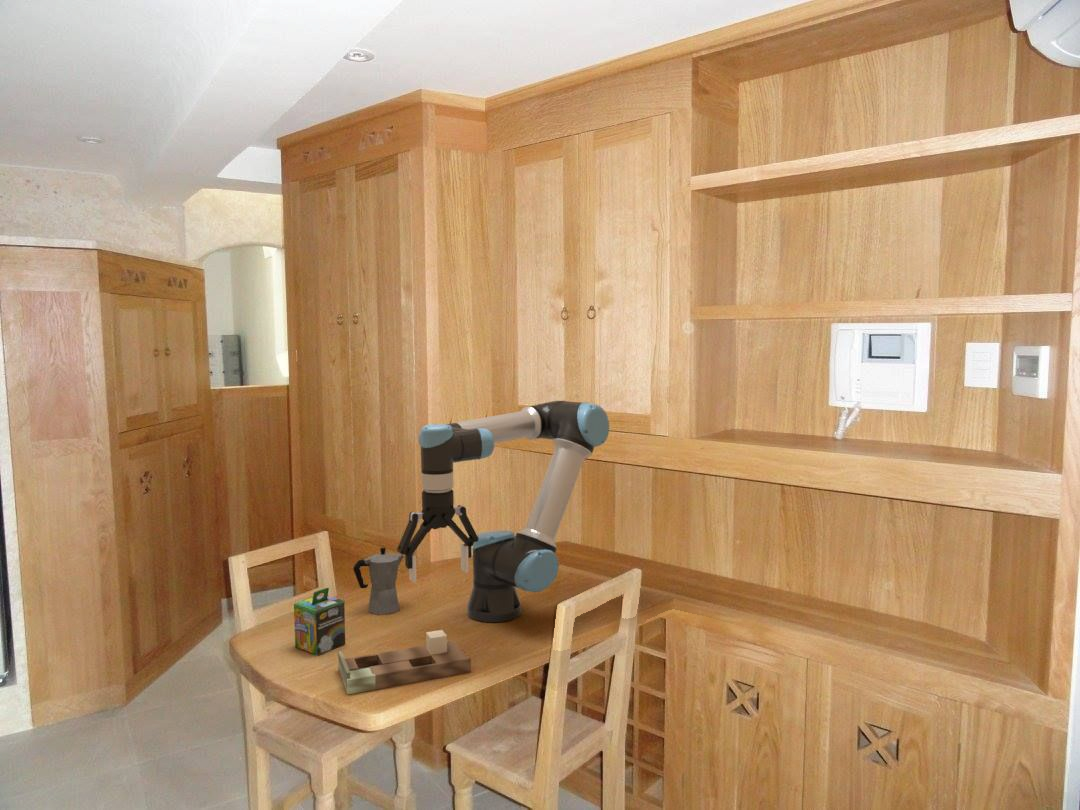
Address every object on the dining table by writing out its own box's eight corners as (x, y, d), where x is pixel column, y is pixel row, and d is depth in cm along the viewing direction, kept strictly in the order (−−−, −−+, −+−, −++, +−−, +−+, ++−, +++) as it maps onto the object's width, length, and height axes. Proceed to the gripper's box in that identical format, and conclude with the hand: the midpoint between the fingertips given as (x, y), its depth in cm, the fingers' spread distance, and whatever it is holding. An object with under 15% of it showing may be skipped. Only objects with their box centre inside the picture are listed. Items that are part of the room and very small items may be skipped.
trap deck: (454, 650, 185) (453, 633, 184) (470, 671, 173) (470, 653, 172) (338, 670, 173) (338, 651, 173) (347, 694, 162) (347, 674, 161)
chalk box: (323, 635, 194) (322, 580, 193) (346, 644, 189) (345, 587, 187) (293, 647, 186) (291, 589, 185) (316, 656, 181) (315, 597, 180)
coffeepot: (397, 600, 221) (397, 540, 219) (412, 609, 213) (411, 547, 212) (348, 611, 212) (346, 549, 210) (361, 621, 204) (360, 556, 203)
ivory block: (442, 645, 181) (442, 629, 181) (447, 652, 178) (446, 635, 177) (426, 648, 180) (426, 632, 180) (430, 654, 176) (430, 638, 176)
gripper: (477, 481, 188) (478, 563, 190) (381, 492, 175) (384, 581, 177) (491, 486, 181) (492, 571, 183) (393, 498, 168) (395, 590, 170)
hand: (439, 576), depth 180 cm, fingers open, 13 cm apart
